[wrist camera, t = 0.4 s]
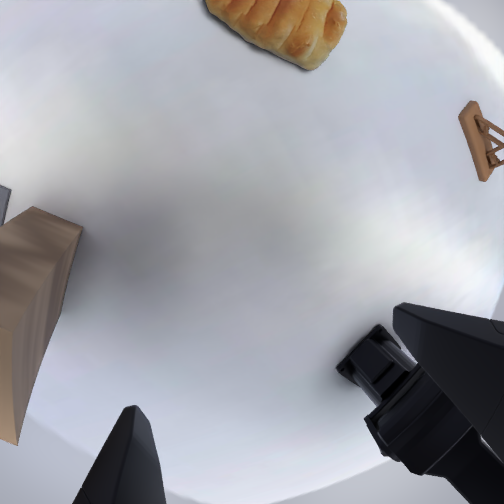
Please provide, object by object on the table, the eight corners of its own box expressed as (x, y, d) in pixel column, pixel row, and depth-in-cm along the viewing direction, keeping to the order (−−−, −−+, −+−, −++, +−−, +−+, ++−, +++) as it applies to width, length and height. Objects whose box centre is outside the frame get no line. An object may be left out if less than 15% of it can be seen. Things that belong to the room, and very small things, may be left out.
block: (83, 227, 18) (12, 332, 7) (60, 314, 19) (17, 446, 8) (32, 206, 16) (-75, 285, 5) (15, 295, 17) (-53, 411, 7)
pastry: (184, 30, 15) (192, 7, 12) (219, -39, 14) (233, -66, 10) (312, 78, 19) (341, 69, 15) (333, 10, 17) (362, -5, 14)
